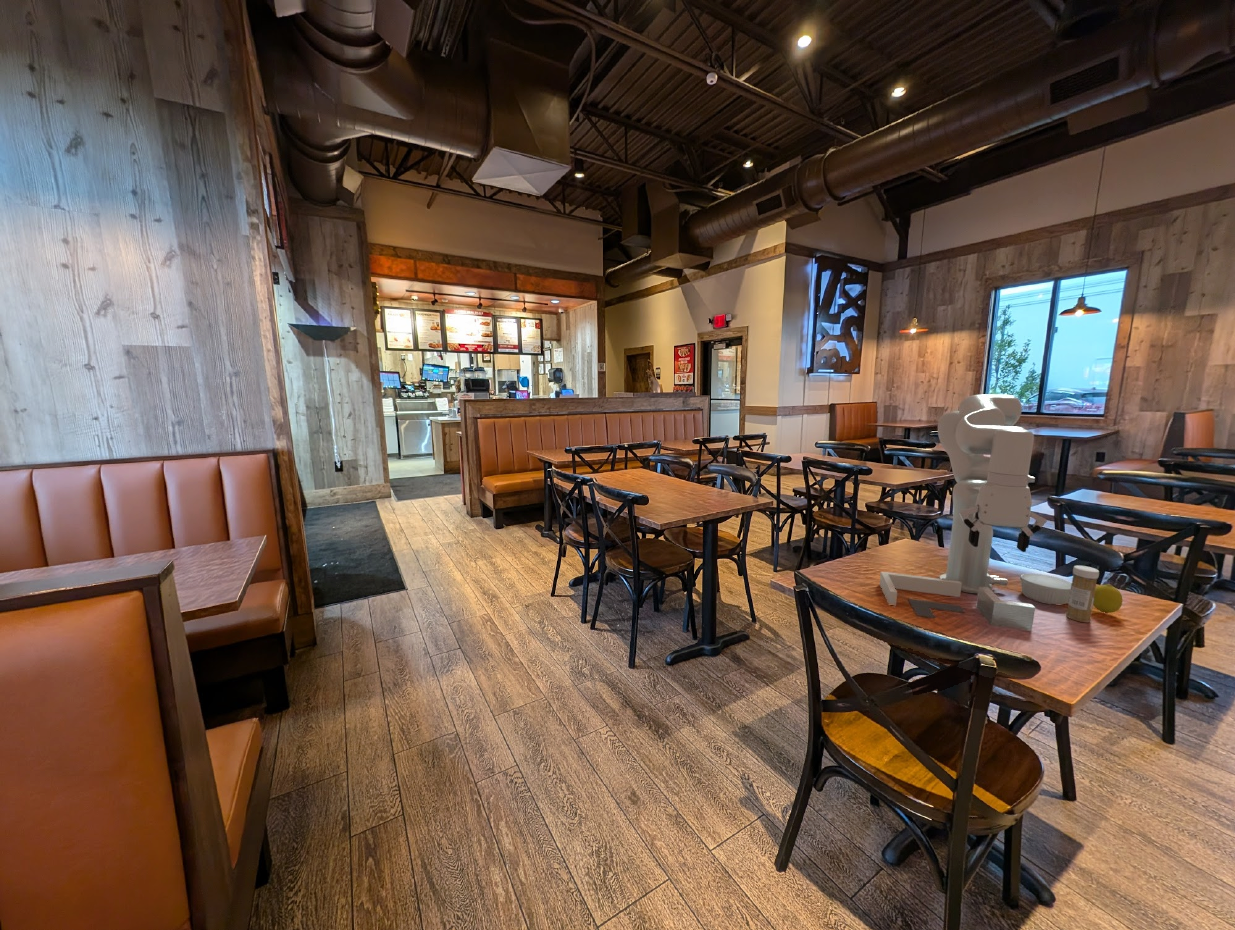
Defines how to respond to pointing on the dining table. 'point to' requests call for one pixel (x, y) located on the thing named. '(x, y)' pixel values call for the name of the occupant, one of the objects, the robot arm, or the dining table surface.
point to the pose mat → (932, 607)
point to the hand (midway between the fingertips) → (997, 547)
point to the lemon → (1107, 598)
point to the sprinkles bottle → (1082, 593)
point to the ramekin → (1045, 588)
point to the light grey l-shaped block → (916, 585)
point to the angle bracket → (1004, 611)
